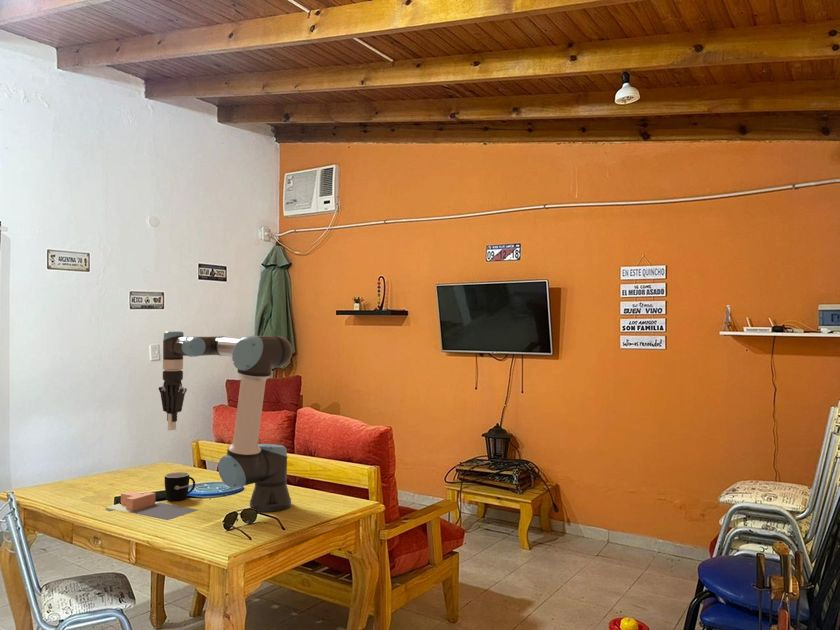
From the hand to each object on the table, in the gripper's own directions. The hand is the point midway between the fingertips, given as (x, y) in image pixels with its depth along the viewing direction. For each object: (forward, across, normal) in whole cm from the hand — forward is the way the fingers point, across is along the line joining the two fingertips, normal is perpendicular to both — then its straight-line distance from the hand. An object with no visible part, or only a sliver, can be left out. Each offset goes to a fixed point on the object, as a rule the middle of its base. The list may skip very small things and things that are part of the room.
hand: (171, 429), depth 255 cm
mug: (+27, -8, +2) cm, 28 cm away
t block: (+26, 0, +17) cm, 31 cm away
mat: (+26, -9, +18) cm, 33 cm away
